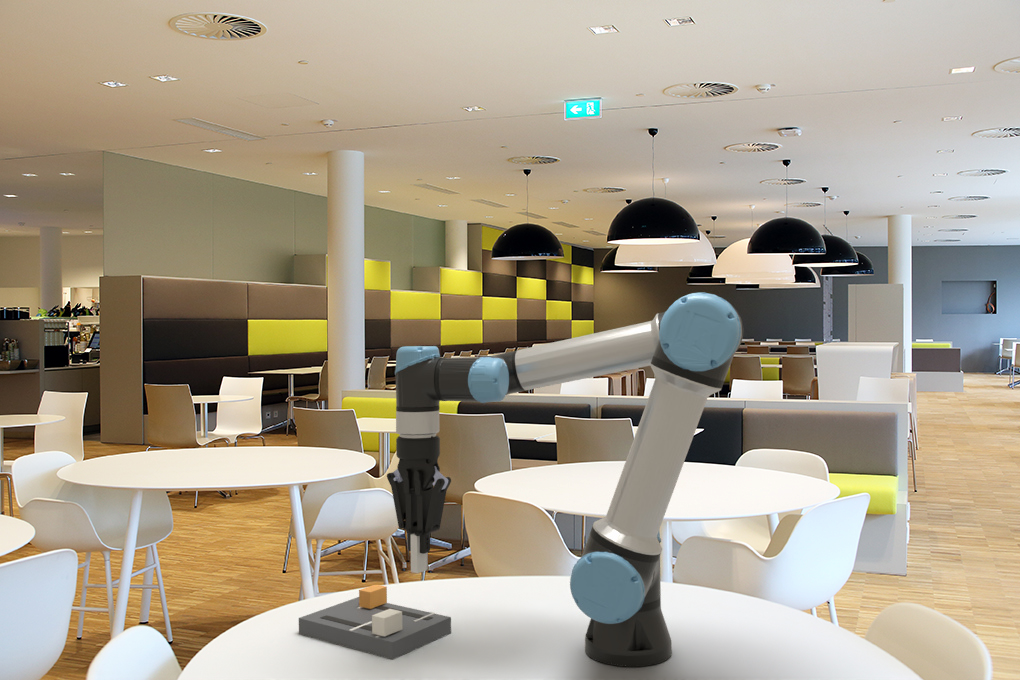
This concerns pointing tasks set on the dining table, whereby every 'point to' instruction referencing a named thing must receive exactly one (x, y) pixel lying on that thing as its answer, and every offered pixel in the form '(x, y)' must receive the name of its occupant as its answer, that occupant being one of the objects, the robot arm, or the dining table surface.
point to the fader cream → (387, 622)
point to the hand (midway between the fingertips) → (419, 570)
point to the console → (355, 628)
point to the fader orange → (372, 596)
